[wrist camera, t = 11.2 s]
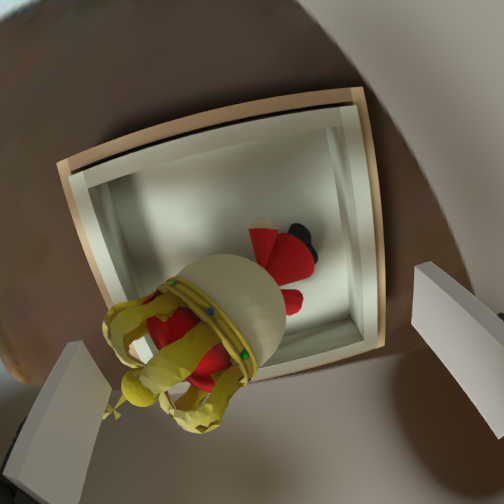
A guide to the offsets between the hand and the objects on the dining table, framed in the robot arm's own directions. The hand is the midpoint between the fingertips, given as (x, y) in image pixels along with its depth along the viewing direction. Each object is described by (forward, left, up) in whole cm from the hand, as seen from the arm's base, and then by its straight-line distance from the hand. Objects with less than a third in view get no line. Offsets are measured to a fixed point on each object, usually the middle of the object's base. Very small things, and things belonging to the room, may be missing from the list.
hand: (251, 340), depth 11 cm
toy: (0, +4, -9) cm, 10 cm away
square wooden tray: (0, 0, -12) cm, 12 cm away
